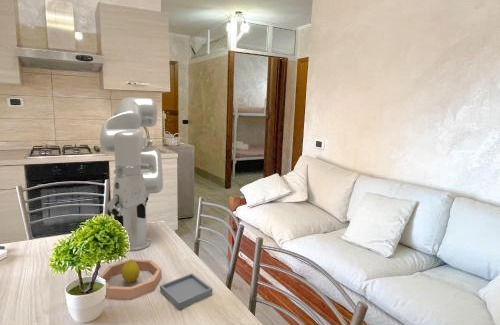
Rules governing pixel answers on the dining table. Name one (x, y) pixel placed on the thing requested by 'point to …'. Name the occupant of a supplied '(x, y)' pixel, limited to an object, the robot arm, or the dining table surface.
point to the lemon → (130, 271)
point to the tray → (185, 291)
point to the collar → (136, 290)
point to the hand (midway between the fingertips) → (130, 222)
